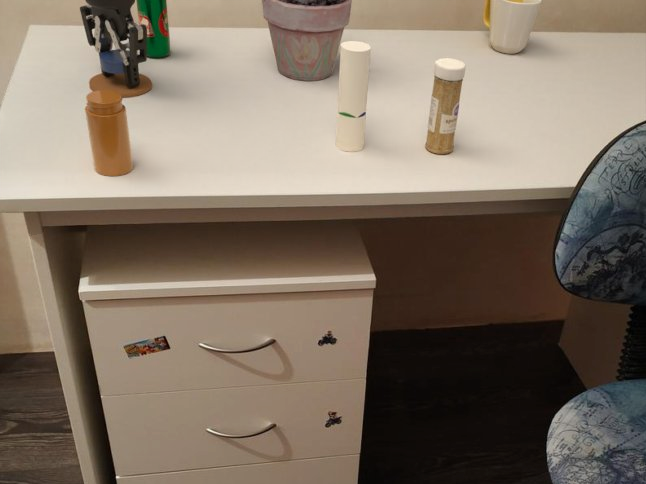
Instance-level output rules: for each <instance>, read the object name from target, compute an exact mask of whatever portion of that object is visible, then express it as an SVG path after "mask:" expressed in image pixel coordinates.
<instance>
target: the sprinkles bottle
mask: <svg viewBox="0 0 646 484" xmlns="http://www.w3.org/2000/svg"><path fill="white" fill-rule="evenodd" d="M466 69H467V68H466V63H465V62H463V61H461V60H459V59H456V58H452V57H451V58H450V57H442V58H439V59H436V61H435V63H434V69H433V75H434V76H433V77H434V78H433V86H432V94H431V99H430V107H429V114H428V120H427V121H428V122H427V135H426V141H425V144H424V146H425V149H426V150H427V151H429V152H430V153H433V154H436V155H447V154H450V153H452V152H453V151H454V140H455V133H456V129H457V123H458V116H459V110H460V99H461V93H462V87H463V86H462V85H463V81H464V78H465V76H466V75H465V74H466Z"/></svg>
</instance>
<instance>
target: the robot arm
mask: <svg viewBox="0 0 646 484" xmlns="http://www.w3.org/2000/svg"><path fill="white" fill-rule="evenodd" d="M84 1H85V2H86V4H84V5H82V6H80V7H79V12H80V15H81V19H82V24H83V27H84V31H85V35H86V39H87V43H88V45H89V46H90V47H92V46H93V47H94V50H95V52H96V53H98V56H99V55H100V54H101V53H103V52H105V51H109V50H113V46H114V48H115V50H117V51H119V52H120V54H121V57H122V60H123V63H124V64H123V66H124V74H125V82H126V86H127V87H129V88H133V87H136V86H138V85H139V82H140V78H139V73H140V72H139V70H140V69H139V64H142V63H145V62H147V60H148V56H147V28H146V26H145V25H144V24H143V25H139V24H138V23H136V22H135V20H134V17H133V15H132V14H133V13H132V11H131V9H132V7H133V5H135V3H136V0H84ZM93 30H94V33H93ZM127 40H128V42H126V43H123V42H124V41H127ZM126 50H128V51H129V57H128V54H127V52H126ZM138 51H139V52H138ZM100 69H101V68H100ZM101 73H102V75H104V76H106V77H109V76H113V75H115V74H112V73H107V72H105V71H103V70H102V69H101Z"/></svg>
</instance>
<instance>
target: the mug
mask: <svg viewBox="0 0 646 484" xmlns="http://www.w3.org/2000/svg"><path fill="white" fill-rule="evenodd" d="M542 1H543V0H485V1H484V6H483V7H484V8H483V15H482V21H483V24H484V26H485V27H487V29H488V30H489V33H488V41H489V43H490V45H491V47H492V48H493V50H495V51H496V52H499V53H502V54H508V55H514V54H518V53H521V51H522V50H523V49H524V48H526V47H527V45H528V42H529V38H530V36H531V33H532V30H533V28H534V24H535V22H536V19H537V16H538V14H539V11H540V8H541V6H542V5H541V4H542Z"/></svg>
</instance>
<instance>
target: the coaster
mask: <svg viewBox="0 0 646 484" xmlns="http://www.w3.org/2000/svg"><path fill="white" fill-rule="evenodd" d="M139 78H140V82H139V85H138V86H136V87H133V88H129V87H127V86H126V82H125V74H115V75H113V76H109V77H106V76H104V75H102V72H101V73H98V74H96V75H94V76H92V77H91V78H89V81H88V85H89V89H90V90H91V92H94V91H99V90H109V91H114V92H117V93H119V94H120V95H121V96H122V98H131V97H137V96H138V97H139V96H142V95H144V94H146V93H148V92H150V91H151V90H152V88H153V81H152V79H151V78H150V77H148V76H147V75H145V74H143V73H140V72H139Z"/></svg>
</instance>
